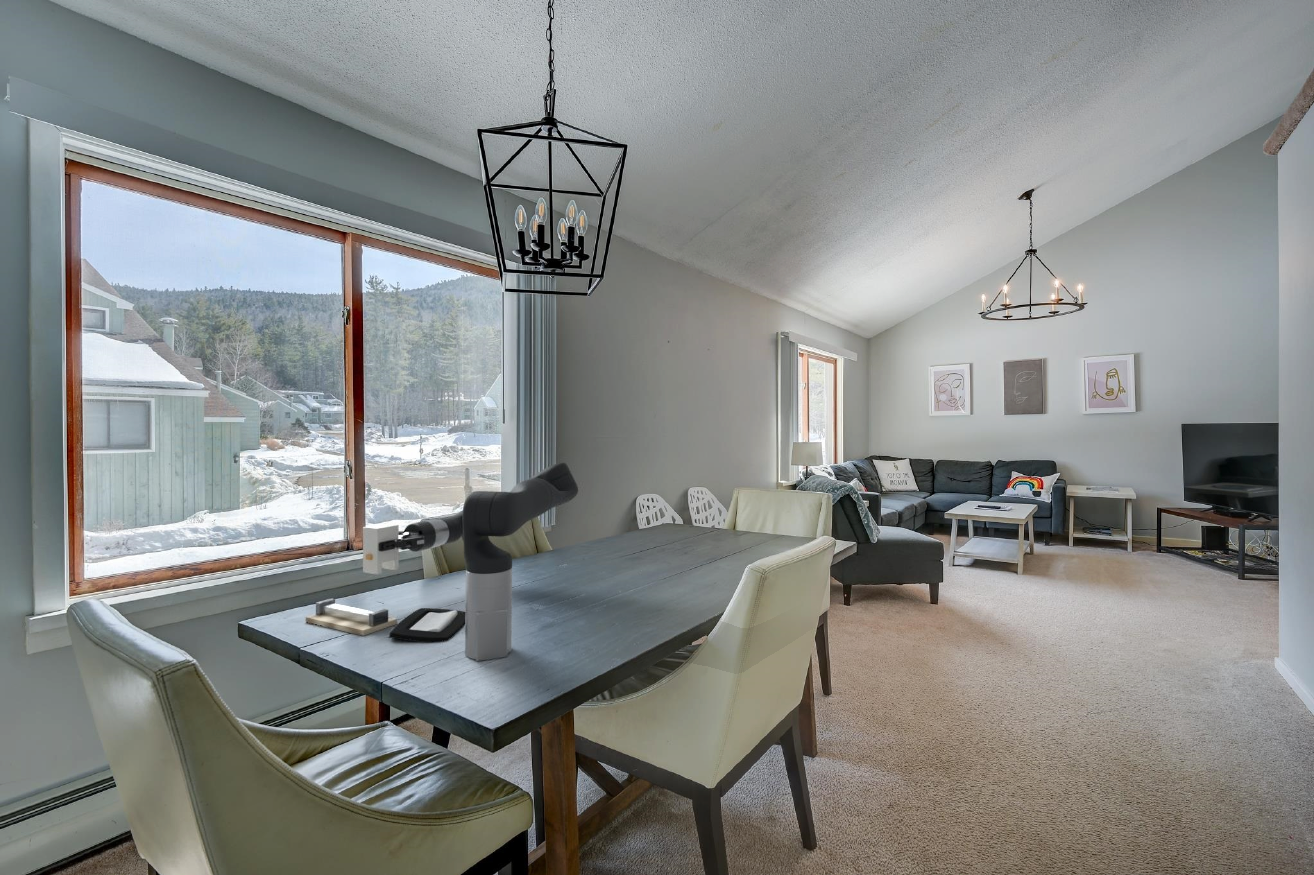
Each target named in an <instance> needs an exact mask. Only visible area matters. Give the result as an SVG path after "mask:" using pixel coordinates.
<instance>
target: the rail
mask: <svg viewBox="0 0 1314 875" xmlns="http://www.w3.org/2000/svg"><path fill="white" fill-rule="evenodd" d="M315 614H317V615H322V614H324V615H328V616H333V617H337V618H342V619H347V620H351V621H356V622H360V623H365V624H369V626H371V627H374V626H377V625H380V624H383V623H386V622H388V617H389V609H387V608H382V609H380V610H376V611H372V610H366V609H364V608H363V609H362V608H358V607H354V606H353V607H351V606H348V605H342V604H339V603H336V599H335V598H328V599H325V600H321V601H317V602H315Z"/></svg>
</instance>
